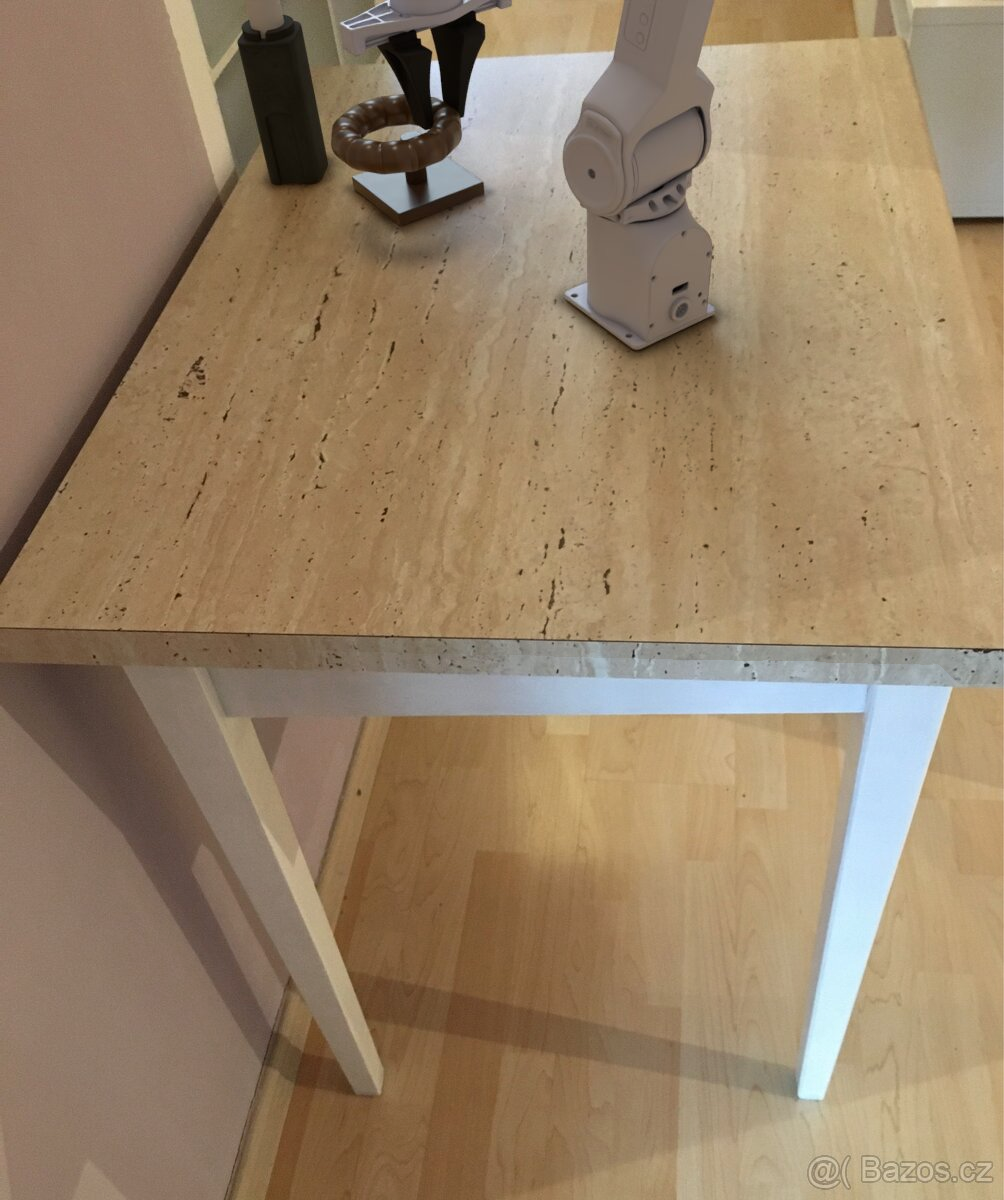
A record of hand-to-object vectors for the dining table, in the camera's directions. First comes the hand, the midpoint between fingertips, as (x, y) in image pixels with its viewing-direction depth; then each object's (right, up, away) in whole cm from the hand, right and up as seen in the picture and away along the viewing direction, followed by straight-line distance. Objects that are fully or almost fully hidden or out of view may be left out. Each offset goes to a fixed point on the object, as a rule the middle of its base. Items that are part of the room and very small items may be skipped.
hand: (439, 119), depth 89 cm
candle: (-14, +1, +14) cm, 20 cm away
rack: (-3, -2, +9) cm, 10 cm away
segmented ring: (-4, -2, -1) cm, 4 cm away
